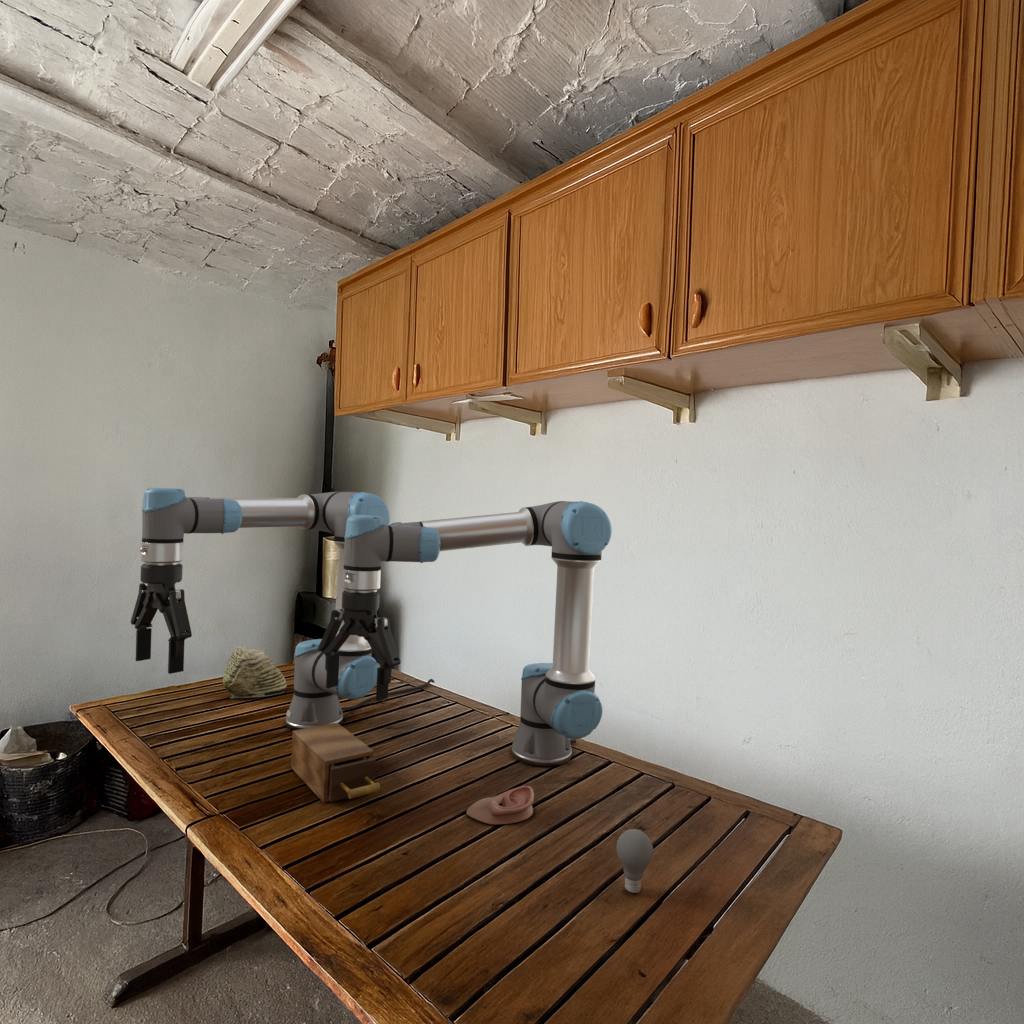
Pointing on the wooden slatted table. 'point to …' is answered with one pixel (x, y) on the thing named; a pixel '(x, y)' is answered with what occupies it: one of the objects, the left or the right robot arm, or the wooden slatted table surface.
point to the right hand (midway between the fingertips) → (356, 693)
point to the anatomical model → (504, 807)
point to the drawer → (352, 779)
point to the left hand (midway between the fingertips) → (158, 666)
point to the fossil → (252, 674)
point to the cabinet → (323, 754)
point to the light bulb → (634, 857)
